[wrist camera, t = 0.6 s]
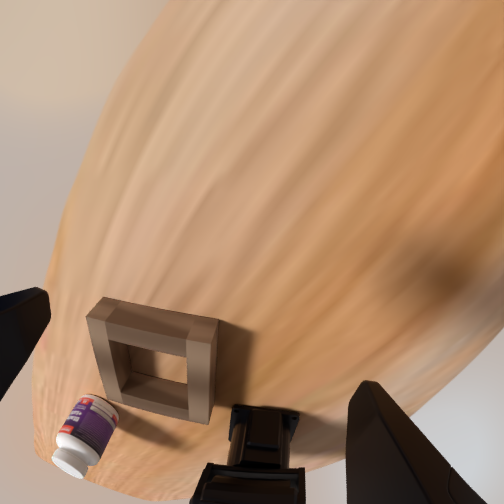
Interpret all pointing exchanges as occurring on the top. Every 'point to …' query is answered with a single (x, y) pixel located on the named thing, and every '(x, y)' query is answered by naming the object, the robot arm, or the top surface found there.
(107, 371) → the socket
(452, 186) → the top surface
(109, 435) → the pill bottle
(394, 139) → the top surface
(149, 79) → the top surface
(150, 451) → the top surface
